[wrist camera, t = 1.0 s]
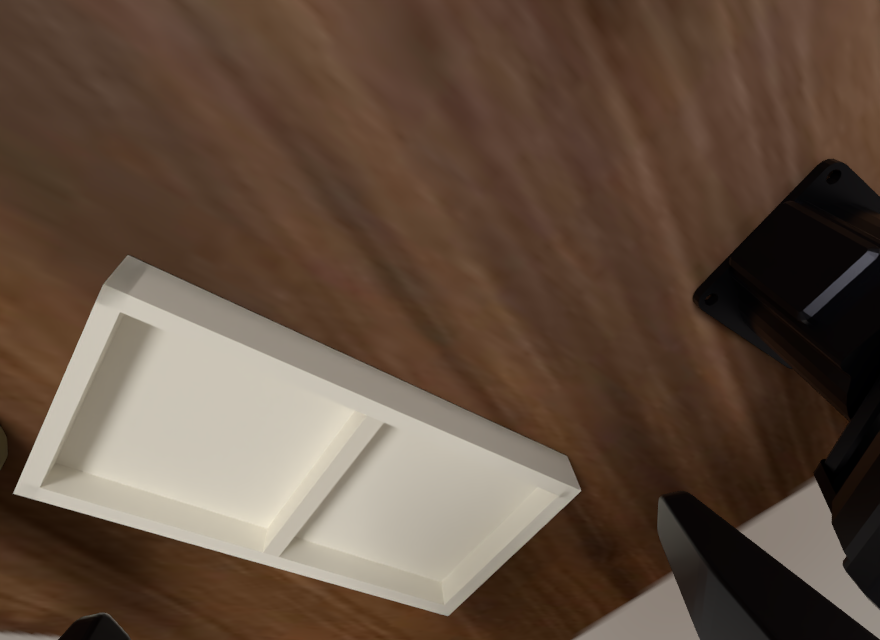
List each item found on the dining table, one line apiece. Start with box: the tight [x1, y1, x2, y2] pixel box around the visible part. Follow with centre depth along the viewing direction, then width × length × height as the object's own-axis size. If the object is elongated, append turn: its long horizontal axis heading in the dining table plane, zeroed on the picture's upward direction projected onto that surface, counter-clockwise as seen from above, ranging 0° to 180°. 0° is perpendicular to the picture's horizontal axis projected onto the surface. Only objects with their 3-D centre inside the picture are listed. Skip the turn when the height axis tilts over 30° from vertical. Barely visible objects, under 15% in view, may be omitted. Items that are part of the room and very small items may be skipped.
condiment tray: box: [13, 255, 581, 616], centre depth 23 cm, size 19×10×2 cm, turn 56°
